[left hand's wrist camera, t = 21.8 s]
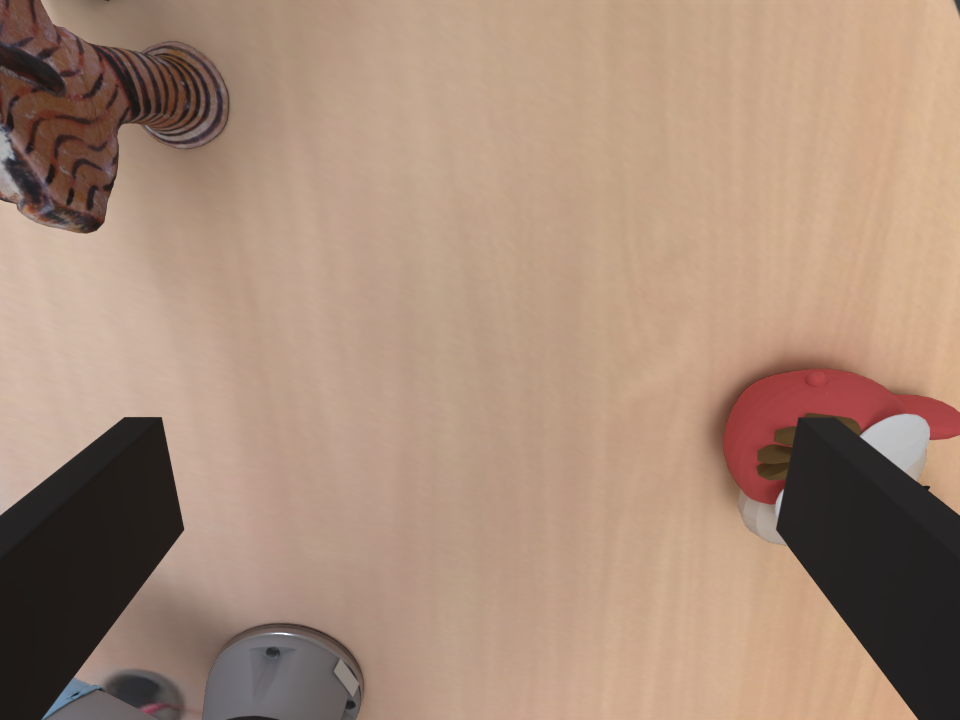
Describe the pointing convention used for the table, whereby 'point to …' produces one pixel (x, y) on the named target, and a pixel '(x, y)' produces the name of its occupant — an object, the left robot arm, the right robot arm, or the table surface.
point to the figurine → (89, 112)
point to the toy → (821, 393)
